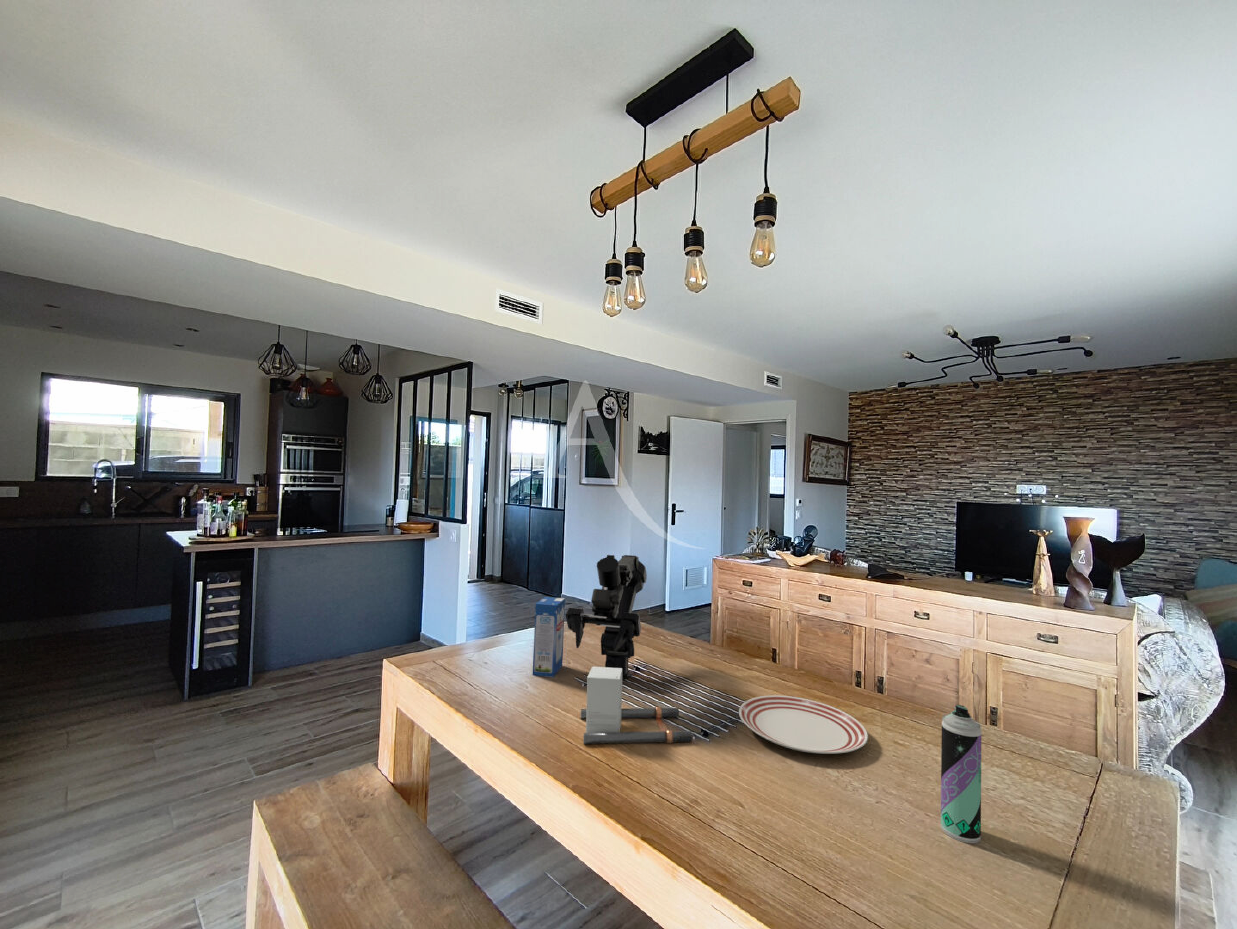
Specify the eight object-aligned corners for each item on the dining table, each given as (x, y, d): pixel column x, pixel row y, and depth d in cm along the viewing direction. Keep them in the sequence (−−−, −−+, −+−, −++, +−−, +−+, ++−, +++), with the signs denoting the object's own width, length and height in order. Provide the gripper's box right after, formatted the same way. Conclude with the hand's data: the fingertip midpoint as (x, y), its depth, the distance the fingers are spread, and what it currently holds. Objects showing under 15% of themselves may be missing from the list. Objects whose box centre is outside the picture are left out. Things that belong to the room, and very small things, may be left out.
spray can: (932, 821, 88) (934, 699, 89) (963, 821, 89) (964, 699, 90) (956, 843, 83) (957, 713, 84) (989, 843, 83) (990, 713, 84)
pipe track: (583, 747, 110) (584, 734, 110) (580, 717, 124) (581, 705, 124) (692, 745, 112) (692, 732, 112) (676, 715, 127) (676, 704, 127)
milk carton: (542, 663, 159) (545, 596, 160) (562, 665, 158) (565, 598, 159) (532, 675, 149) (535, 603, 150) (553, 677, 148) (556, 605, 149)
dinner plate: (884, 735, 120) (885, 720, 120) (839, 781, 100) (839, 763, 100) (772, 699, 139) (772, 686, 139) (715, 731, 119) (715, 716, 119)
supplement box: (621, 723, 121) (623, 667, 121) (618, 739, 113) (620, 679, 114) (589, 721, 121) (591, 665, 122) (584, 736, 114) (586, 676, 115)
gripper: (571, 575, 137) (553, 622, 124) (642, 580, 133) (630, 629, 120) (577, 605, 143) (560, 653, 130) (645, 611, 139) (634, 661, 126)
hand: (595, 648), depth 127 cm, fingers open, 9 cm apart
